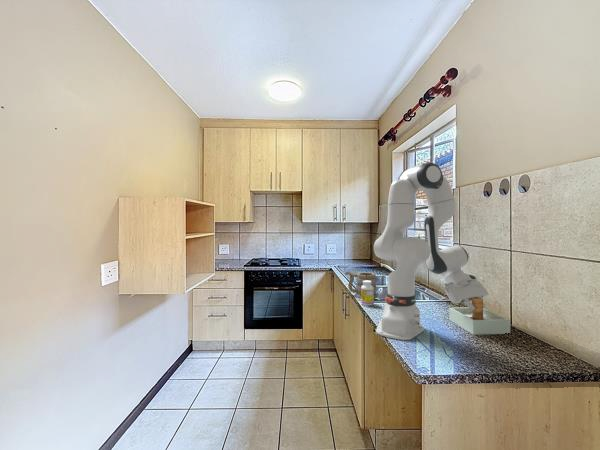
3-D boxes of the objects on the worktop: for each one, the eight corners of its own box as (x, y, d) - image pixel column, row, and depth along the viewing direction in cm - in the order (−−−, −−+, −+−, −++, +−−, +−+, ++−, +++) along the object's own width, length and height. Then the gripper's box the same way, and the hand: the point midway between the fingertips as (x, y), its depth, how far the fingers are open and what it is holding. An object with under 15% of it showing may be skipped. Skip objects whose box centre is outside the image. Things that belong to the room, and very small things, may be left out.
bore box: (510, 333, 117) (510, 319, 117) (473, 334, 116) (473, 320, 116) (481, 318, 135) (481, 306, 135) (449, 319, 134) (449, 307, 134)
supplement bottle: (359, 302, 165) (359, 280, 165) (371, 302, 165) (370, 279, 165) (363, 306, 158) (363, 282, 158) (375, 305, 159) (374, 282, 159)
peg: (483, 324, 123) (482, 300, 123) (472, 322, 125) (471, 299, 125) (483, 321, 126) (483, 298, 126) (472, 319, 128) (472, 297, 128)
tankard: (380, 295, 180) (379, 271, 179) (373, 300, 169) (372, 274, 169) (349, 292, 191) (349, 269, 190) (341, 296, 180) (341, 272, 180)
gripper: (445, 280, 128) (466, 308, 119) (477, 275, 136) (499, 301, 127) (437, 288, 132) (457, 315, 123) (469, 283, 140) (489, 309, 131)
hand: (479, 308), depth 125 cm, fingers closed on peg, 4 cm apart
